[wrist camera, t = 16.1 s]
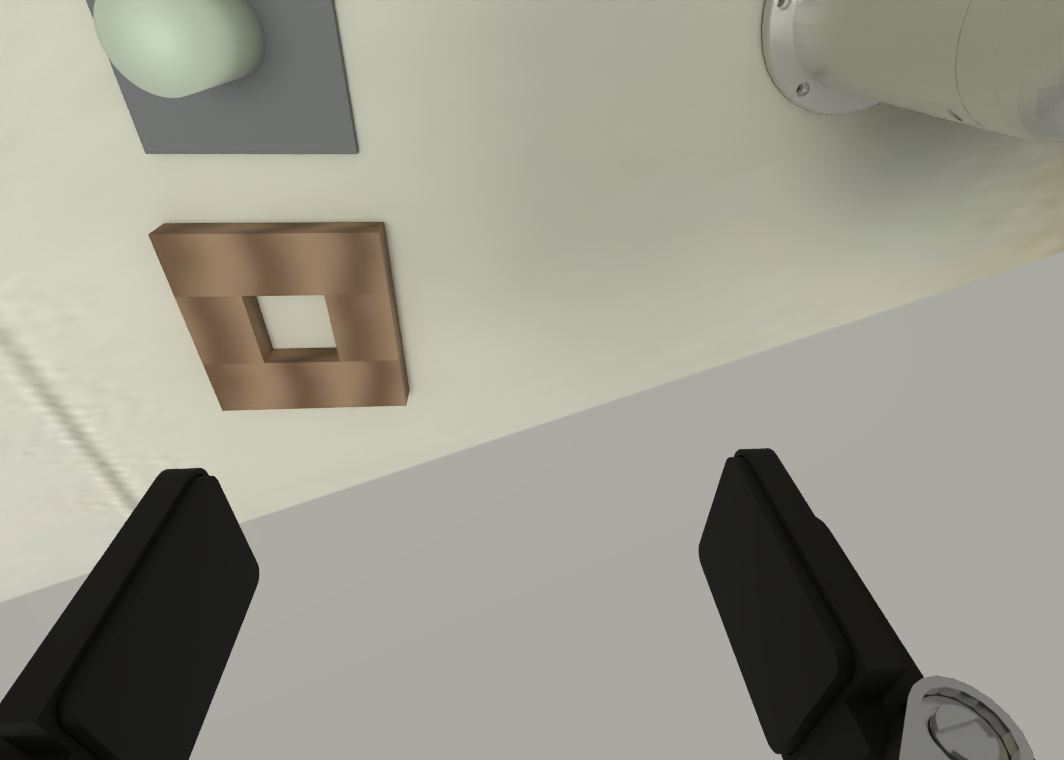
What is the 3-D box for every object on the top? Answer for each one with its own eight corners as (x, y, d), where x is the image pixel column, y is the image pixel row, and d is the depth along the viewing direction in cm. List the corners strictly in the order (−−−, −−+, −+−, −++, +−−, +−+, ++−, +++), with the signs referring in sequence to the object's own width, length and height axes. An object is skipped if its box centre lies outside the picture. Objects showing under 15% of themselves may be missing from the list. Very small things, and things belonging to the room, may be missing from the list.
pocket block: (383, 222, 40) (378, 232, 38) (409, 390, 49) (406, 405, 48) (163, 223, 39) (148, 234, 37) (232, 395, 48) (222, 410, 47)
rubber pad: (313, -122, 29) (310, -124, 28) (358, 151, 37) (357, 153, 37) (42, -131, 28) (34, -133, 27) (150, 151, 36) (145, 153, 36)
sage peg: (251, -20, 31) (187, -24, 24) (274, 78, 34) (223, 98, 27) (161, -22, 30) (73, -27, 24) (192, 78, 33) (121, 97, 27)
